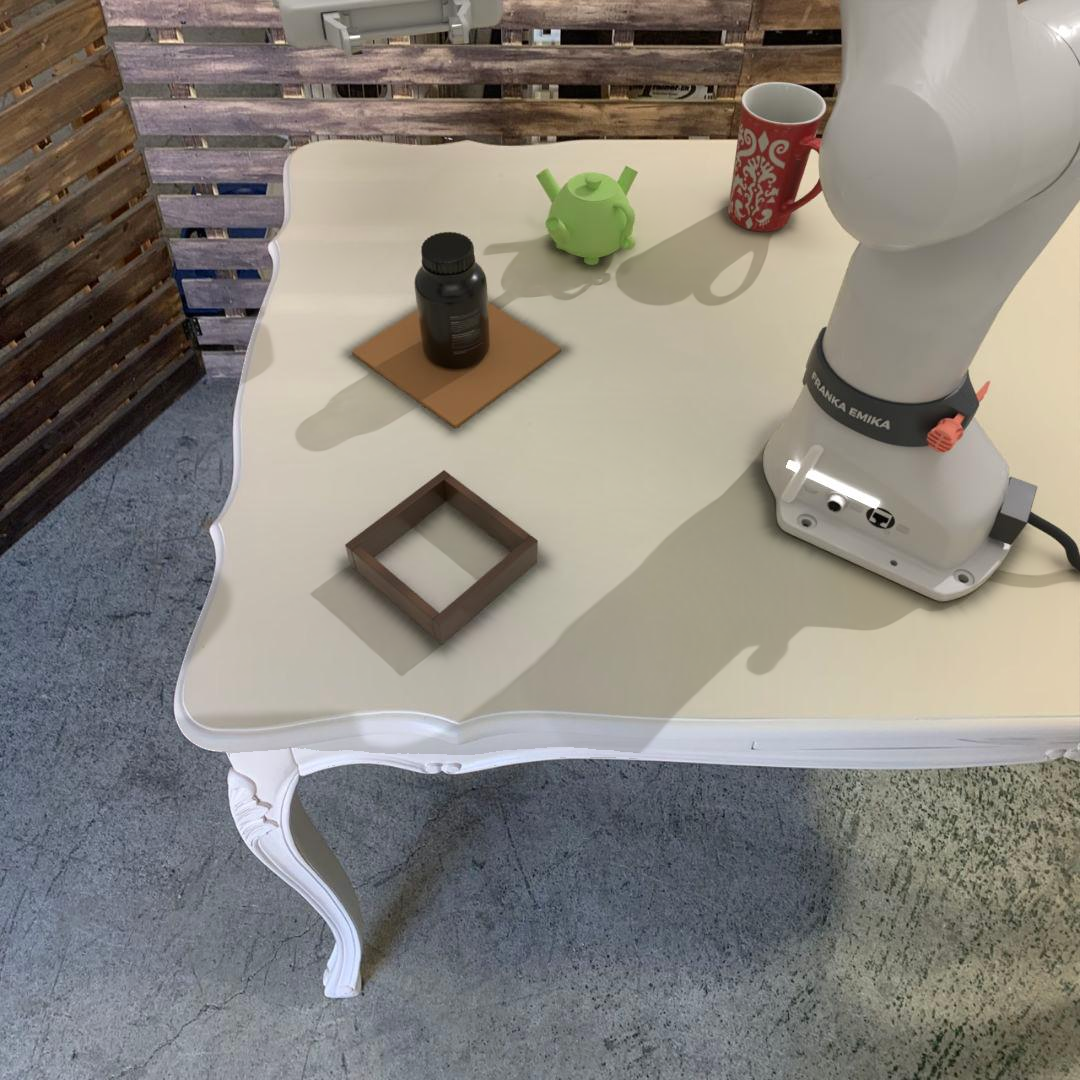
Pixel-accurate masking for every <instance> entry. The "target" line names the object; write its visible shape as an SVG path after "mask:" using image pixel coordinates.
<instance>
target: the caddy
mask: <svg viewBox="0 0 1080 1080" xmlns="http://www.w3.org/2000/svg"><path fill="white" fill-rule="evenodd" d="M446 502H447V503H448V504H449V505H450V506H452V507H453V508H454V509H456V510H457V511H458V512H460V513H461V514H462V515H463V516H464V517H466V518H467V519H469V520H470V521H471V522H473V523H474V524H475V525H476V526H478V527H479V528H480V529H482V530H483V531H484V532H485V533H487V534H488V535H489V536H490V537H492V538H493V539H495V540H496V541H497V542H498V543H500V544H501V545H502V546H503V547H505V548H506V549H507V550H509V552H510V553H508V554H507V555H506V556H505V557H503V558H502V559H501V560H500V561H499V562H498V563H497V564H495V565H494V566H493V567H492V568H490V570H488V571H487V572H486V573H485V574H484V575H482V576H481V578H479V579H477V581H475V582H474V583H473V584H472V585H471V586H469V587H468V588H467V589H466V590H465V591H463V593H461V594H459V596H458V597H456V598H455V599H454V600H453V601H452V602H451V603H449V604H448V605H447V606H446V607H445V608H444V609H442V610H441V611H440V612H439V611H438V610H436V609H435V608H434V607H433V606H432V605H431V604H430V603H429V602H427V601H426V600H425V599H424V598H422V597H421V595H419V594H418V593H416V592H415V591H414V589H412V588H411V587H409V586H408V585H407V584H406V583H404V582H403V581H402V580H401V579H400V578H399V577H398V576H397V575H395V574H394V572H391V571H390V570H389V569H388V568H387V566H385V565H383V563H381V562H380V561H378V560H377V559H376V558H375V557H376V556H377V555H379V554H380V553H381V552H383V551H384V550H386V549H387V548H388V547H389V546H390V545H392V544H393V543H394V542H396V541H397V540H398V539H400V538H401V537H403V535H405V534H406V533H407V532H409V531H410V530H411V529H412V528H413V527H415V526H416V525H418V524H419V523H420V522H422V521H423V520H424V519H425V518H427V517H428V516H429V515H430V514H432V513H433V512H434V511H435V510H437V509H439V507H440V506H442V505H443V504H445V503H446ZM344 547H345V551H346V554H347V558H348V561H349V566H350V567H351V568H352V569H353V570H355V571H356V572H357V573H358V574H359V575H361V577H363V578H364V579H365V580H367V582H368V583H370V584H371V585H373V587H375V588H376V589H377V590H378V591H379V592H381V594H383V595H384V596H385V597H386V598H387V599H388V600H390V602H392V603H393V604H394V605H395V606H396V607H398V608H399V609H400V610H401V611H402V612H403V613H405V614H406V615H407V616H408V617H409V618H410V619H412V620H413V621H414V622H415V623H416V624H417V625H418V626H420V627H421V628H422V629H423V630H425V631H426V632H427V633H428V634H429V635H430V636H432V637H433V638H434V639H435V640H436V641H437V642H438V643H439V644H440V645H443V644H445V643H446V642H447V641H448V640H450V638H452V637H453V636H454V635H455V634H456V633H457V632H458V631H460V630H461V629H462V628H463V627H464V626H465V625H466V624H468V623H469V622H470V621H471V620H472V619H473V618H474V617H476V616H477V615H478V614H479V613H480V612H482V610H484V609H485V608H486V607H487V606H488V605H489V604H491V602H493V601H494V600H495V599H496V598H497V597H498V596H500V595H501V594H502V593H503V592H505V590H506V589H508V588H509V587H510V586H512V585H513V583H514V582H516V581H517V580H518V579H519V578H520V577H522V576H523V574H525V573H526V572H527V571H529V569H531V568H532V567H533V566H534V565H535V564H536V563H537V562H538V553H539V550H538V548H539V540H538V539H537V538H535V537H534V536H533V535H531V534H530V533H528V532H527V531H526V530H524V529H523V528H522V527H521V526H520V525H517V524H516V523H515V522H514V521H512V520H511V519H510V518H509V517H507V516H506V515H504V514H503V513H502V512H501V511H499V510H498V509H497V508H495V507H494V506H493V505H491V504H490V503H488V502H487V501H486V500H484V499H483V498H482V497H481V496H479V495H478V494H477V493H475V492H474V491H473V490H471V489H470V488H468V487H467V486H466V485H464V484H463V483H462V482H461V481H460V480H458V479H457V478H456V477H454V476H453V475H452V474H450V473H449V472H448V471H446V470H445V469H443V470H442V471H441V472H439V473H437V474H436V475H435V476H434V477H432V478H431V479H430V480H429V481H427V482H426V483H425V484H423V485H422V486H420V487H419V488H418V489H416V491H414V492H413V493H411V494H410V495H408V496H407V497H406V498H404V499H403V500H402V501H400V502H399V503H398V504H397V505H396V506H394V507H393V508H392V509H391V510H389V511H387V512H386V513H385V514H384V515H382V516H381V517H379V518H378V519H377V520H375V521H374V522H373V523H372V524H370V525H369V526H367V528H365V529H363V530H362V531H361V532H360V533H357V535H355V536H354V537H353V538H352V539H350V540H349V541H347V543H345V544H344Z"/></svg>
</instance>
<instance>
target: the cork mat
mask: <svg viewBox="0 0 1080 1080" xmlns="http://www.w3.org/2000/svg"><path fill="white" fill-rule="evenodd" d="M488 315H489V334H490V346H489V350H488V353H487V354H486V356H485V357H484V358H483V359H482V360H481V361H480V362H478V363H477V364H475V365H473V366H470V367H467V368H463V369H447V368H443V367H440V366H437V365H435V364H434V363H432V362H431V361H430V360H429V359H428V358H427V357H426V355H425V353H424V351H423V346H422V340H421V332H420V325H419V317H418V309H417V308H416V309H415V310H414V311H413V312H411V313H409V314H408V315H406V316H404V317H403V318H401V319H400V320H398V321H397V322H395V323H394V324H392V325H390V326H389V327H387V328H386V329H384V330H382V331H381V332H379V333H378V334H376V335H375V336H373V337H372V338H370V339H368V340H366V341H365V342H364V343H362V344H360V345H359V346H357V347H356V348H354V349H352V350H351V354H352V355H353V356H354V357H356V358H357V359H358V360H360V361H361V362H362V363H364V364H365V365H367V366H368V367H369V368H371V369H372V370H374V371H375V372H376V373H378V374H379V375H380V376H382V377H384V379H386V380H388V381H389V382H390V383H392V385H394V386H396V387H397V388H398V389H400V390H402V391H403V392H404V393H405V394H407V395H408V396H410V397H411V398H412V399H414V400H415V401H417V402H418V403H420V404H421V405H422V406H424V407H425V408H427V409H428V410H429V411H431V412H432V413H433V414H434V415H436V416H437V417H439V418H440V419H442V420H443V421H444V422H446V423H447V424H449V425H450V426H451V427H453V428H454V429H457V428H459V427H460V426H461V425H462V424H464V423H465V422H466V421H467V420H470V419H471V418H472V417H473V416H475V415H476V414H477V413H478V412H480V411H481V410H483V409H485V408H486V407H487V406H489V405H490V404H491V403H493V402H494V401H495V400H496V399H498V398H499V397H501V396H502V395H503V394H505V393H506V392H508V391H509V390H511V388H513V387H515V386H516V385H517V384H518V383H520V382H521V381H523V380H524V379H526V378H527V377H528V376H529V375H531V374H532V373H533V372H535V371H536V370H538V369H539V368H540V367H542V366H544V365H545V364H546V363H547V362H548V361H550V360H551V359H553V358H554V357H555V356H557V355H558V354H559V353H561V352H562V347H561V346H559V345H557V344H555V342H552V341H551V340H550V339H547V338H546V337H544V336H543V335H541V334H539V333H538V332H537V331H535V330H533V329H532V328H530V327H528V326H527V325H525V324H524V323H522V322H520V321H519V320H517V319H516V318H514V317H513V316H511V315H509V314H508V313H506V312H505V311H503V310H501V309H500V308H498V307H496V306H495V305H493V304H492V303H490V302H489V301H488Z"/></svg>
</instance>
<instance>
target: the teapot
mask: <svg viewBox="0 0 1080 1080" xmlns="http://www.w3.org/2000/svg"><path fill="white" fill-rule="evenodd" d="M638 173H639V172H638V171H637V170H635V169H633V168H631V167H630V166H627V165H625V166H624V168H623V170H622V172H621V174H620V176H619V177H618V180H615V179H614V178H613V177H611V176H609V175H607V174H604V173H601V172H596V171H590V172H582V173H579V174H576V175H574V176H572V177H571V178H569V179H568V181H567V182H566V183H565V184H564V185H563V186H562V188H560V186H559V184H558V183H557V181H556V179H555V177H554V176H553V175H552V173H551V171H550V169H549V168H548V167H546V168H545V169H543V170H542V171H540V172H538V173H537V174H536V175H535V177H536V179H537V180H538V182H539V184H540V185H541V187H542V189H543V190H544V192H545V194H546V195H547V197H548V199H549V201H550V202H551V205H550V208H549V211H548V216H547V218H546V220H545V223H544V225H545V228H546V229H547V232H548V234H549V237H550V238H551V239H552V240H553V242H554V243H555V247H556V248H557V249H559V250H562V251H565V252H566V253H568V254H570V255H573V256H577V257H580V258H581V257H582V258H583V262H584V263H585V264H587V265H589V266H594V265H598V264H599V262H600V258H602V257H605V256H609V255H611V254H613V253H615V252H617V251H618V250H620V249H621V248H622V250H625V251H631V250H633V248H635V245H636V241H635V239H634V237H633V236H632V235H633V231H634V224H635V222H636V213H635V210H634V208H633V207H632V205H630V201H629V199H628V198H627V196H628V193H629V191H630V189H631V187H632V185H633V183H634V181H635V180H636V178H637V175H638Z"/></svg>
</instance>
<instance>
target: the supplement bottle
mask: <svg viewBox="0 0 1080 1080" xmlns="http://www.w3.org/2000/svg"><path fill="white" fill-rule="evenodd" d="M420 254H421V266H420V267H419V269H418V270H417V272H416V274H415V275H414V276H415V277H414V282H413V283H414V284H413V285H414V294H415V300H416V301H415V302H416V310H417V309H418V317H419V325H420V332H421V340H422V346H423V351H424V353H425V355H426V357H427V358H428V359H429V360H430V361H431V362H432V363H434V364H435V365H437V366H440V367H443V368H447V369H463V368H467V367H470V366H473V365H475V364H477V363H478V362H480V361H481V360H482V359H483V358H484V357H485V356H486V354H487V353H488V350H489V346H490V334H489V315H488V302H489V300H488V282H487V276H486V273H485V271H484V269H483V268H482V267H481V265H480V264H478V262H476V256H475V247H474V243H473V241H472V240H471V238H469V237H468V236H466V235H465V234H462V233H460V232H455V231H444V232H438V233H435V234H432V235H430V236H428V237H427V238H426V239H424V241H423V242H422V244H421V250H420Z"/></svg>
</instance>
